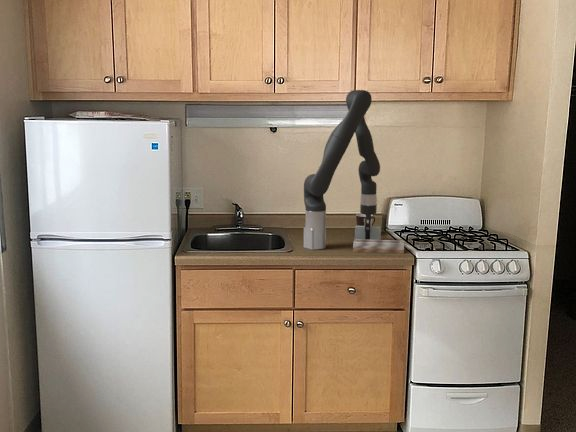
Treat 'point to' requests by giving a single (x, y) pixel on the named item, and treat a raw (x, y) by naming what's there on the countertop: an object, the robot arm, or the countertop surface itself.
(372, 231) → the blue-gray rectangular block
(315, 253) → the countertop surface
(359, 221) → the coffee mug
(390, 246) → the track base
